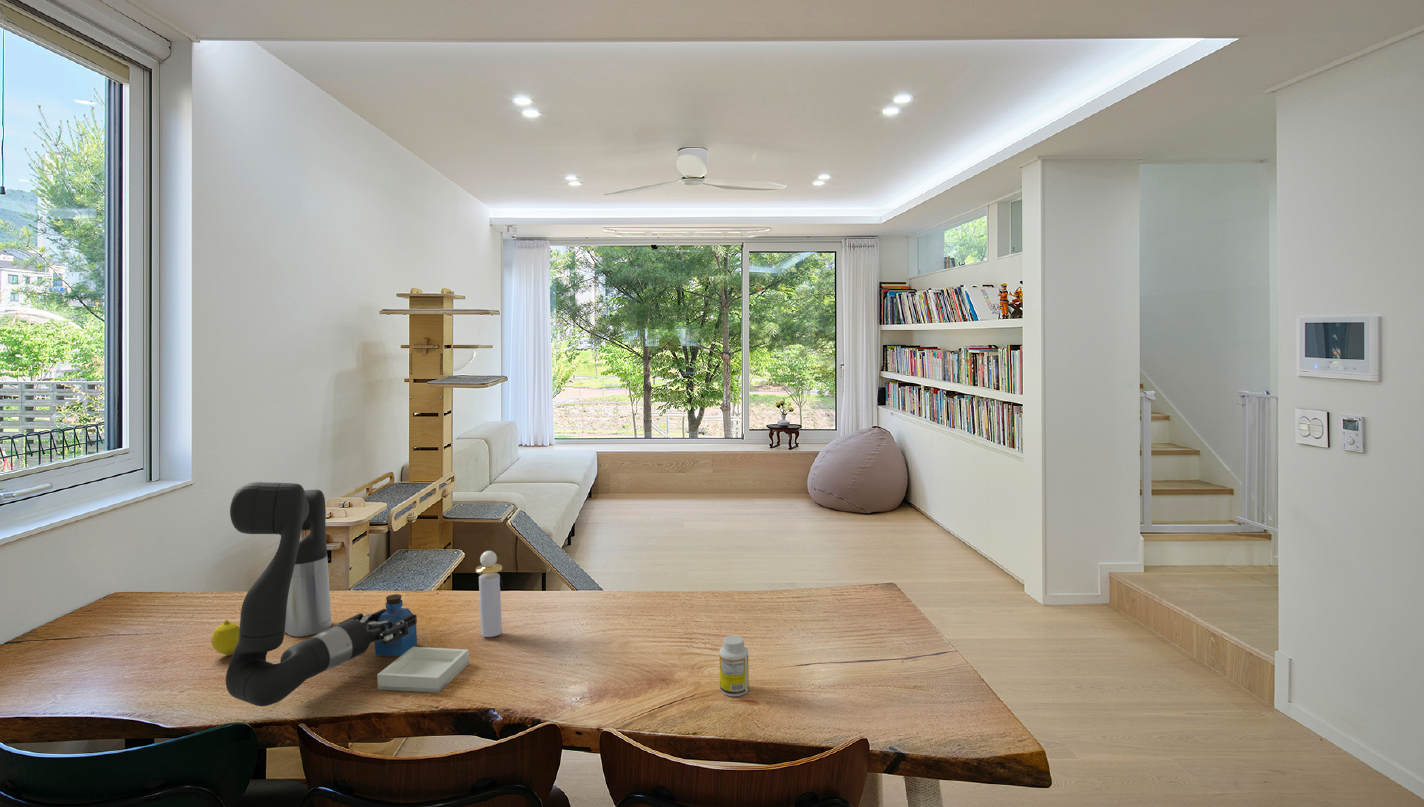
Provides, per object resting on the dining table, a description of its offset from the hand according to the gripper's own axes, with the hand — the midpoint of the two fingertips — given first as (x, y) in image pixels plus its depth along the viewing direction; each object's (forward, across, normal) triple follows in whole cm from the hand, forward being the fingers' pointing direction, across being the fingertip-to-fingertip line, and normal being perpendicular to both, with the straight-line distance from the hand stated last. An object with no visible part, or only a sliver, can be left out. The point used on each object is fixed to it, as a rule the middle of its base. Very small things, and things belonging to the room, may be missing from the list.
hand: (400, 615), depth 158 cm
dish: (-9, -15, +7) cm, 19 cm away
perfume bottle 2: (+12, -15, +7) cm, 20 cm away
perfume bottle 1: (-2, 0, +7) cm, 7 cm away
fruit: (-18, +32, +7) cm, 37 cm away
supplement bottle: (+8, -76, +7) cm, 77 cm away
